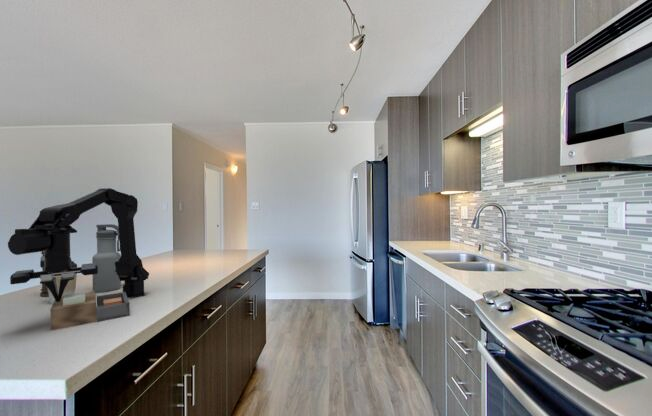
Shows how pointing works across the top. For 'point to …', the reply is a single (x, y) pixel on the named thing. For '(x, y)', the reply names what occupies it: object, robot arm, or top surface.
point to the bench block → (73, 312)
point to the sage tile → (74, 298)
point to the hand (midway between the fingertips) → (58, 301)
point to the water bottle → (106, 259)
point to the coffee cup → (69, 287)
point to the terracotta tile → (112, 301)
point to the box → (112, 307)
